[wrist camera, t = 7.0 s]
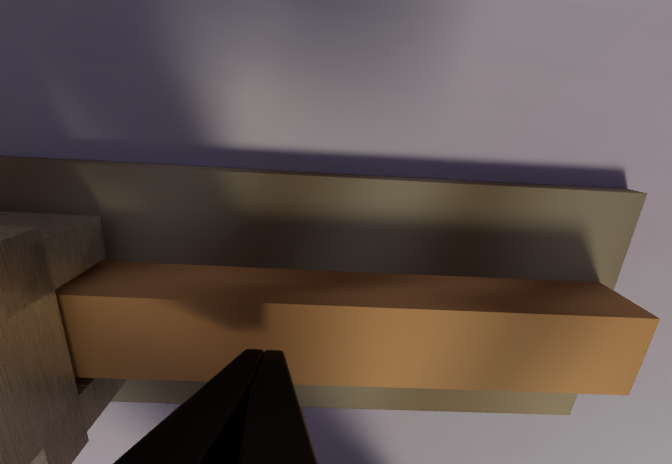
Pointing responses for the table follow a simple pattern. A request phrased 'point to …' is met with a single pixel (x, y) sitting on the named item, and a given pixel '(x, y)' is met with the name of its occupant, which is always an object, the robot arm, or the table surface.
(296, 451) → the robot arm
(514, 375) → the rail
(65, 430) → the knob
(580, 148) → the table surface
